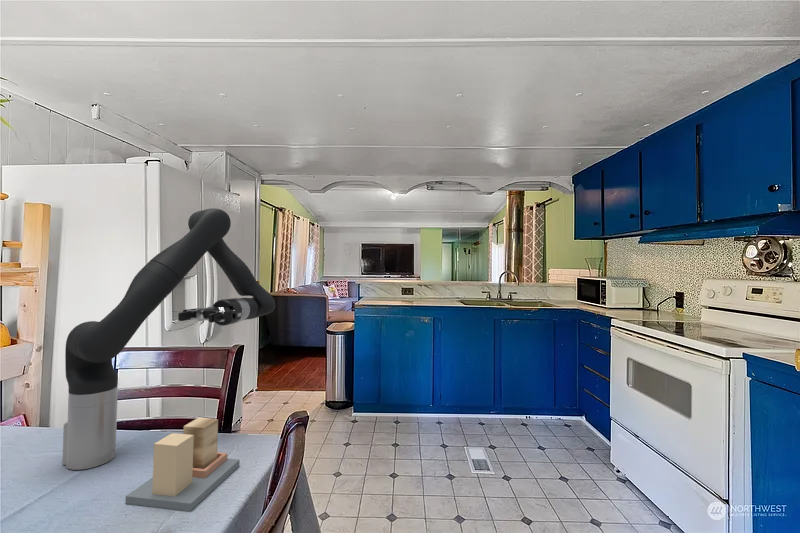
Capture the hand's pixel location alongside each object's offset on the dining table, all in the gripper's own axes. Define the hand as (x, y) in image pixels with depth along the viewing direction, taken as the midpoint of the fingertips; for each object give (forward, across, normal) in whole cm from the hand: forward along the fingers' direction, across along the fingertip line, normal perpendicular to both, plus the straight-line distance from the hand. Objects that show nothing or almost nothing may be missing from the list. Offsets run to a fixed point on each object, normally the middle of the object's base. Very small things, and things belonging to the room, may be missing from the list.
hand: (194, 317), depth 96 cm
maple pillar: (+9, +9, +32) cm, 35 cm away
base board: (+13, +9, +34) cm, 38 cm away
